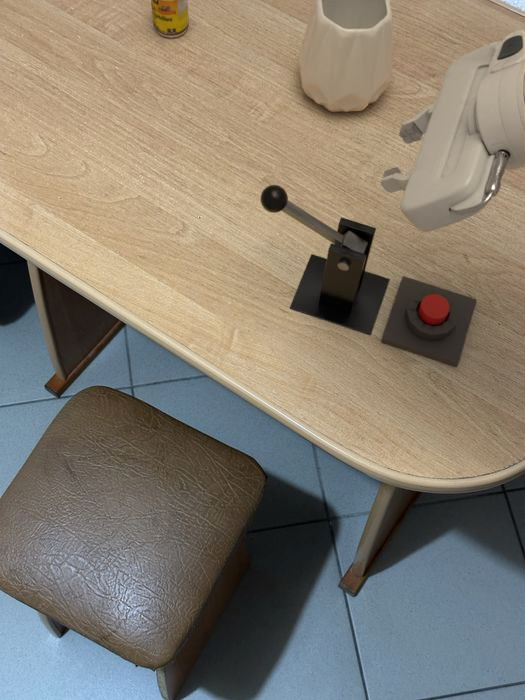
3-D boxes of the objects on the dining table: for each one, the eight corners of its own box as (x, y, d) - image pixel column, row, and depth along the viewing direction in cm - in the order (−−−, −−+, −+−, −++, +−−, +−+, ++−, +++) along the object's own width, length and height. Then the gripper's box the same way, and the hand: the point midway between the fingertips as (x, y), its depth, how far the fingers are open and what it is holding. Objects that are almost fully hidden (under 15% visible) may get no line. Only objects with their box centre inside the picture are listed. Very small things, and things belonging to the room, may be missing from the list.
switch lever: (252, 207, 98) (263, 195, 95) (261, 187, 99) (273, 175, 96) (349, 268, 101) (363, 258, 99) (357, 247, 103) (371, 237, 100)
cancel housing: (472, 307, 111) (480, 292, 107) (454, 371, 107) (462, 357, 103) (400, 284, 112) (405, 268, 109) (379, 346, 108) (384, 331, 104)
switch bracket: (289, 312, 110) (296, 254, 97) (310, 259, 114) (320, 196, 101) (369, 339, 108) (386, 283, 96) (388, 283, 112) (407, 223, 100)
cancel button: (449, 305, 107) (452, 298, 105) (442, 329, 105) (445, 322, 104) (422, 297, 107) (425, 290, 106) (415, 320, 106) (417, 313, 104)
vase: (393, 120, 125) (412, 41, 112) (299, 123, 125) (307, 43, 111) (381, 52, 132) (398, -31, 118) (292, 54, 131) (298, -29, 117)
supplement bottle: (146, 29, 132) (140, -26, 123) (168, 9, 134) (164, -47, 125) (174, 44, 131) (169, -10, 122) (196, 25, 133) (193, -31, 124)
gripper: (511, 228, 72) (383, 257, 82) (556, 65, 81) (436, 109, 91) (474, 180, 68) (345, 216, 78) (525, 15, 77) (403, 66, 87)
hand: (394, 157), depth 85 cm, fingers open, 5 cm apart
